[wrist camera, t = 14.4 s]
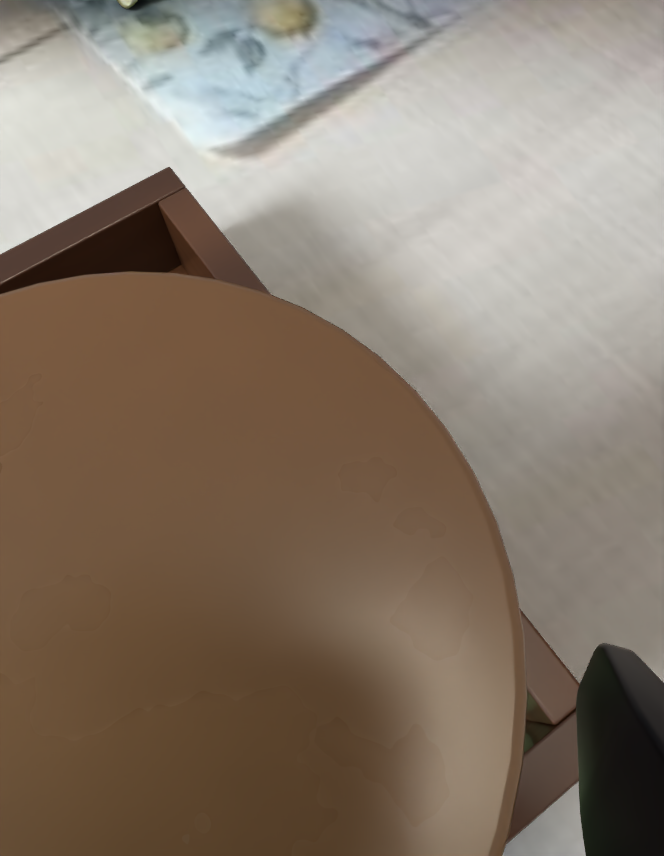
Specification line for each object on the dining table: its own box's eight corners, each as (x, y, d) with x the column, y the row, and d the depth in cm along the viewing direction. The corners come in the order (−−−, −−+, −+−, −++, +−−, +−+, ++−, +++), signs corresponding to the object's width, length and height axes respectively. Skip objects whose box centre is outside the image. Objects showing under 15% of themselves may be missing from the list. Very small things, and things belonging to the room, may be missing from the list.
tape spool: (378, 836, 15) (600, 1935, 2) (153, 767, 15) (-896, 1190, 2) (426, 597, 17) (694, 284, 4) (226, 545, 17) (-130, 126, 4)
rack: (570, 730, 16) (626, 741, 13) (236, 1014, 14) (203, 1112, 11) (195, 241, 22) (169, 165, 19) (-74, 389, 20) (-154, 333, 17)
